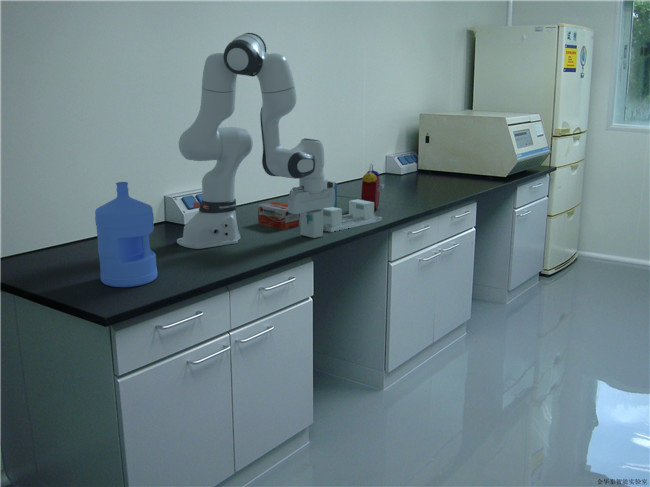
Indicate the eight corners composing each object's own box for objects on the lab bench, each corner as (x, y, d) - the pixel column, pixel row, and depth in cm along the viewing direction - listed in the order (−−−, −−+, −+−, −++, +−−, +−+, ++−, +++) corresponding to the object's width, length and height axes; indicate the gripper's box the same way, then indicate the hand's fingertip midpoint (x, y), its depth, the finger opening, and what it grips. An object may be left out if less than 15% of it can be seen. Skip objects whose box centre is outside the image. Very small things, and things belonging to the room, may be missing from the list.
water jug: (89, 284, 185) (79, 185, 177) (124, 269, 199) (116, 177, 192) (135, 291, 179) (127, 189, 172) (168, 274, 193) (162, 180, 186)
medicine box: (257, 224, 257) (257, 204, 255) (273, 220, 263) (272, 201, 261) (284, 230, 247) (284, 209, 245) (300, 226, 253) (299, 206, 251)
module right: (365, 219, 258) (365, 204, 256) (348, 215, 264) (348, 200, 263) (374, 217, 261) (374, 202, 260) (357, 213, 268) (357, 199, 266)
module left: (332, 226, 246) (332, 210, 244) (315, 222, 252) (315, 207, 251) (341, 224, 249) (342, 208, 248) (325, 220, 256) (325, 205, 254)
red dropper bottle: (365, 206, 290) (366, 160, 285) (385, 207, 288) (386, 161, 283) (360, 213, 276) (361, 165, 271) (381, 214, 274) (382, 166, 269)
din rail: (331, 232, 243) (331, 226, 243) (307, 226, 252) (307, 221, 252) (381, 220, 262) (381, 215, 261) (358, 215, 271) (358, 210, 271)
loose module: (313, 238, 234) (313, 213, 232) (300, 234, 239) (300, 210, 237) (323, 235, 237) (323, 211, 235) (309, 232, 242) (309, 208, 240)
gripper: (295, 189, 224) (296, 228, 228) (338, 182, 238) (337, 219, 241) (283, 187, 228) (284, 225, 232) (325, 180, 242) (325, 217, 246)
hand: (311, 222), depth 237 cm, fingers closed on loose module, 5 cm apart
